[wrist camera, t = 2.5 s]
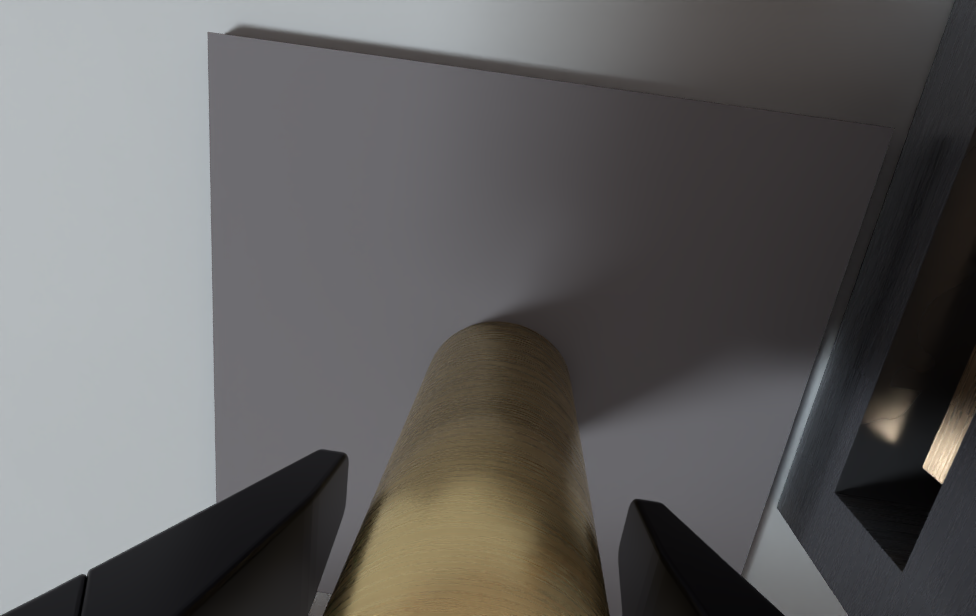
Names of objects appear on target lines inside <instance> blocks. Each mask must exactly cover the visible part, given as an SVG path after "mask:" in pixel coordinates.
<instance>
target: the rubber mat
mask: <svg viewBox="0 0 976 616" xmlns="http://www.w3.org/2000/svg"><path fill="white" fill-rule="evenodd" d="M208 76H209V130H210V183H211V237H212V290H213V344H214V398H215V451H216V503H218V502H220V501H222V500H224V499H225V498H227V497H229V496H231V495H233V494H235V493H237V492H239V491H241V490H243V489H244V488H246V487H248V486H250V485H252V484H254V483H256V482H258V481H260V480H262V479H264V478H265V477H267V476H269V475H271V474H273V473H275V472H277V471H279V470H281V469H283V468H284V467H286V466H288V465H290V464H292V463H294V462H296V461H298V460H300V459H302V458H303V457H305V456H307V455H309V454H311V453H313V452H315V451H317V450H319V449H326V450H332V451H339V452H344V453H346V454H347V456H348V458H349V468H348V483H347V497H346V506H345V511H344V515H343V518H342V521H341V524H340V527H339V530H338V533H337V535H336V538H335V541H334V544H333V547H332V550H331V553H330V555H329V558H328V561H327V564H326V567H325V570H324V573H323V575H322V578H321V581H320V584H319V587H318V590H317V592H324V593H330V594H332V593H333V591H334V589H335V586H336V584H337V582H338V579H339V577H340V574H341V572H342V570H343V567H344V565H345V563H346V560H347V558H348V556H349V553H350V551H351V549H352V546H353V544H354V542H355V539H356V537H357V534H358V532H359V530H360V527H361V525H362V523H363V520H364V518H365V516H366V513H367V511H368V509H369V506H370V504H371V502H372V499H373V497H374V495H375V492H376V490H377V487H378V485H379V483H380V480H381V478H382V476H383V473H384V471H385V469H386V466H387V464H388V462H389V459H390V457H391V455H392V452H393V450H394V447H395V445H396V443H397V440H398V438H399V436H400V433H401V431H402V429H403V426H404V424H405V422H406V419H407V417H408V415H409V412H410V410H411V408H412V405H413V403H414V400H415V398H416V396H417V393H418V391H419V389H420V386H421V384H422V382H423V379H424V377H425V375H426V372H427V370H428V368H429V365H430V363H431V361H432V359H433V357H434V355H435V353H436V352H437V351H438V349H439V348H440V346H441V345H442V344H443V343H444V342H445V341H446V340H447V339H449V338H450V337H451V336H452V335H454V334H455V333H457V332H459V331H460V330H462V329H464V328H467V327H469V326H472V325H475V324H479V323H484V322H495V321H500V322H510V323H514V324H519V325H522V326H525V327H527V328H530V329H532V330H534V331H536V332H537V333H539V334H540V335H542V336H543V337H545V338H546V339H547V340H548V341H549V342H550V343H552V344H553V346H554V347H555V348H556V349H557V350H558V352H559V353H560V355H561V356H562V358H563V359H564V361H565V363H566V366H567V368H568V371H569V374H570V380H571V386H572V392H573V398H574V404H575V410H576V416H577V422H578V428H579V434H580V440H581V446H582V452H583V458H584V464H585V470H586V476H587V482H588V488H589V494H590V500H591V506H592V512H593V518H594V524H595V530H596V536H597V542H598V548H599V554H600V560H601V566H602V572H603V578H604V584H605V590H606V596H607V602H608V608H609V614H610V616H622V605H621V592H620V580H619V567H618V551H619V544H620V540H621V536H622V532H623V528H624V525H625V521H626V517H627V513H628V509H629V506H630V504H631V502H632V501H633V500H634V499H644V500H650V501H657V502H661V503H663V504H664V505H665V506H666V507H667V508H668V509H669V510H671V511H672V512H673V513H674V514H675V515H676V516H677V517H678V518H679V519H680V520H681V521H682V522H684V523H685V524H686V525H687V526H688V527H689V528H690V529H691V530H692V531H693V532H694V533H695V534H697V535H698V536H699V537H700V538H701V539H702V540H703V541H704V542H705V543H706V544H707V545H708V546H710V547H711V548H712V549H713V550H714V551H715V552H716V553H717V554H718V555H719V556H720V557H721V558H723V559H724V560H725V561H726V562H727V563H728V564H729V565H730V566H731V567H732V568H733V569H734V570H736V571H737V572H738V573H739V574H740V575H741V574H742V571H743V568H744V565H745V562H746V560H747V557H748V554H749V551H750V548H751V545H752V542H753V539H754V536H755V533H756V530H757V528H758V525H759V522H760V519H761V516H762V513H763V510H764V507H765V504H766V501H767V498H768V495H769V493H770V490H771V487H772V484H773V481H774V478H775V475H776V472H777V469H778V466H779V463H780V461H781V458H782V455H783V452H784V449H785V446H786V443H787V440H788V437H789V434H790V431H791V429H792V426H793V423H794V420H795V417H796V414H797V411H798V408H799V405H800V402H801V399H802V397H803V394H804V391H805V388H806V385H807V382H808V379H809V376H810V373H811V370H812V367H813V365H814V362H815V359H816V356H817V353H818V350H819V347H820V344H821V341H822V338H823V335H824V332H825V330H826V327H827V324H828V321H829V318H830V315H831V312H832V309H833V306H834V303H835V300H836V298H837V295H838V292H839V289H840V286H841V283H842V280H843V277H844V274H845V271H846V268H847V266H848V263H849V260H850V257H851V254H852V251H853V248H854V245H855V242H856V239H857V236H858V234H859V231H860V228H861V225H862V222H863V219H864V216H865V213H866V210H867V207H868V204H869V202H870V199H871V196H872V193H873V190H874V187H875V184H876V181H877V178H878V175H879V172H880V169H881V167H882V164H883V161H884V158H885V155H886V152H887V149H888V146H889V143H890V140H891V137H892V135H893V132H894V129H895V128H891V127H884V126H877V125H869V124H862V123H855V122H848V121H841V120H834V119H827V118H819V117H812V116H805V115H798V114H791V113H784V112H777V111H769V110H762V109H755V108H748V107H741V106H734V105H726V104H719V103H712V102H705V101H698V100H691V99H684V98H676V97H669V96H662V95H655V94H648V93H641V92H633V91H626V90H619V89H612V88H605V87H598V86H591V85H583V84H576V83H569V82H562V81H555V80H548V79H541V78H533V77H526V76H519V75H512V74H505V73H498V72H490V71H483V70H476V69H469V68H462V67H455V66H448V65H440V64H433V63H426V62H419V61H412V60H405V59H397V58H390V57H383V56H376V55H369V54H362V53H355V52H347V51H340V50H333V49H326V48H319V47H312V46H305V45H297V44H290V43H283V42H276V41H269V40H262V39H254V38H247V37H240V36H233V35H226V34H219V33H212V32H208Z"/></svg>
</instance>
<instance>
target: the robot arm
mask: <svg viewBox="0 0 976 616" xmlns="http://www.w3.org/2000/svg"><path fill="white" fill-rule="evenodd" d="M348 468H349V458H348V456H347V454H346V453H344V452H339V451H332V450H326V449H319V450H317V451H315V452H313V453H311V454H309V455H307V456H305V457H303V458H302V459H300V460H298V461H296V462H294V463H292V464H290V465H288V466H286V467H284V468H283V469H281V470H279V471H277V472H275V473H273V474H271V475H269V476H267V477H265V478H264V479H262V480H260V481H258V482H256V483H254V484H252V485H250V486H248V487H246V488H244V489H243V490H241V491H239V492H237V493H235V494H233V495H231V496H229V497H227V498H225V499H224V500H222V501H220V502H218V503H216V504H214V505H212V506H210V507H208V508H206V509H205V510H203V511H201V512H199V513H197V514H195V515H193V516H191V517H189V518H187V519H186V520H184V521H182V522H180V523H178V524H176V525H174V526H172V527H170V528H168V529H167V530H165V531H163V532H161V533H159V534H157V535H155V536H153V537H151V538H149V539H147V540H146V541H144V542H142V543H140V544H138V545H136V546H134V547H132V548H130V549H128V550H127V551H125V552H123V553H121V554H119V555H117V556H115V557H113V558H111V559H109V560H108V561H106V562H104V563H102V564H100V565H98V566H96V567H94V568H92V569H91V570H89V572H88V574H87V576H86V575H85V574H81V575H79V576H77V577H75V578H73V579H71V580H69V581H67V582H65V583H63V584H61V585H60V586H58V587H56V588H54V589H52V590H50V591H48V592H46V593H44V594H42V595H40V596H38V597H36V598H34V599H32V600H30V601H28V602H26V603H24V604H22V605H20V606H18V607H17V608H15V609H13V610H11V611H9V612H7V613H5V614H3V615H1V616H308V614H309V612H310V609H311V606H312V603H313V601H314V598H315V595H316V592H317V590H318V587H319V584H320V581H321V578H322V575H323V573H324V570H325V567H326V564H327V561H328V558H329V555H330V553H331V550H332V547H333V544H334V541H335V538H336V535H337V533H338V530H339V527H340V524H341V521H342V518H343V515H344V511H345V506H346V497H347V483H348ZM618 567H619V580H620V592H621V605H622V616H784V615H783V614H782V613H781V612H780V611H779V610H778V609H777V608H776V607H775V606H774V605H772V604H771V603H770V602H769V601H768V600H767V599H766V598H765V597H764V596H763V595H762V594H761V593H759V592H758V591H757V590H756V589H755V588H754V587H753V586H752V585H751V584H750V583H749V582H747V581H746V580H745V579H744V578H743V577H742V576H741V575H740V574H739V573H738V572H737V571H736V570H734V569H733V568H732V567H731V566H730V565H729V564H728V563H727V562H726V561H725V560H724V559H723V558H721V557H720V556H719V555H718V554H717V553H716V552H715V551H714V550H713V549H712V548H711V547H710V546H708V545H707V544H706V543H705V542H704V541H703V540H702V539H701V538H700V537H699V536H698V535H697V534H695V533H694V532H693V531H692V530H691V529H690V528H689V527H688V526H687V525H686V524H685V523H684V522H682V521H681V520H680V519H679V518H678V517H677V516H676V515H675V514H674V513H673V512H672V511H671V510H669V509H668V508H667V507H666V506H665V505H664V504H663V503H661V502H657V501H650V500H644V499H634V500H633V501H632V502H631V504H630V506H629V509H628V513H627V517H626V521H625V525H624V528H623V532H622V536H621V540H620V544H619V551H618Z"/></svg>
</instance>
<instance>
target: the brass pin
mask: <svg viewBox="0 0 976 616" xmlns="http://www.w3.org/2000/svg"><path fill="white" fill-rule="evenodd" d="M323 616H610V614H609V608H608V602H607V596H606V590H605V584H604V578H603V572H602V566H601V560H600V554H599V548H598V542H597V536H596V530H595V524H594V518H593V512H592V506H591V500H590V494H589V488H588V482H587V476H586V470H585V464H584V458H583V452H582V446H581V440H580V434H579V428H578V422H577V416H576V410H575V404H574V398H573V392H572V386H571V380H570V374H569V371H568V368H567V366H566V363H565V361H564V359H563V358H562V356H561V355H560V353H559V352H558V350H557V349H556V348H555V347H554V346H553V344H552V343H550V342H549V341H548V340H547V339H546V338H545V337H543V336H542V335H540V334H539V333H537V332H536V331H534V330H532V329H530V328H527V327H525V326H522V325H519V324H514V323H510V322H500V321H495V322H484V323H479V324H475V325H472V326H469V327H467V328H464V329H462V330H460V331H459V332H457V333H455V334H454V335H452V336H451V337H450V338H449V339H447V340H446V341H445V342H444V343H443V344H442V345H441V346H440V348H439V349H438V351H437V352H436V353H435V355H434V357H433V359H432V361H431V363H430V365H429V368H428V370H427V372H426V375H425V377H424V379H423V382H422V384H421V386H420V389H419V391H418V393H417V396H416V398H415V400H414V403H413V405H412V408H411V410H410V412H409V415H408V417H407V419H406V422H405V424H404V426H403V429H402V431H401V433H400V436H399V438H398V440H397V443H396V445H395V447H394V450H393V452H392V455H391V457H390V459H389V462H388V464H387V466H386V469H385V471H384V473H383V476H382V478H381V480H380V483H379V485H378V487H377V490H376V492H375V495H374V497H373V499H372V502H371V504H370V506H369V509H368V511H367V513H366V516H365V518H364V520H363V523H362V525H361V527H360V530H359V532H358V534H357V537H356V539H355V542H354V544H353V546H352V549H351V551H350V553H349V556H348V558H347V560H346V563H345V565H344V567H343V570H342V572H341V574H340V577H339V579H338V582H337V584H336V586H335V589H334V591H333V593H332V596H331V598H330V600H329V603H328V605H327V607H326V610H325V612H324V614H323Z"/></svg>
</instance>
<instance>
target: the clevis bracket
mask: <svg viewBox="0 0 976 616" xmlns="http://www.w3.org/2000/svg"><path fill="white" fill-rule="evenodd" d="M777 509H778V510H779V512H780V513H781V515H782V516H783V518H784V519H785V521H786V522H787V524H788V525H789V527H790V528H791V530H792V531H793V533H794V534H795V536H796V537H797V539H798V540H799V542H800V543H801V545H802V546H803V548H804V549H805V551H806V552H807V554H808V555H809V557H810V558H811V560H812V561H813V563H814V564H815V566H816V567H817V569H818V570H819V572H820V573H821V575H822V576H823V578H824V579H825V581H826V582H827V584H828V585H829V587H830V588H831V590H832V592H833V593H834V595H835V596H836V598H837V599H838V601H839V602H840V604H841V605H842V607H843V608H844V610H845V611H846V613H847V614H848V616H976V0H955V3H954V6H953V8H952V11H951V14H950V17H949V20H948V23H947V25H946V28H945V31H944V34H943V37H942V40H941V43H940V45H939V48H938V51H937V54H936V57H935V60H934V62H933V65H932V68H931V71H930V74H929V77H928V79H927V82H926V85H925V88H924V91H923V94H922V97H921V99H920V102H919V105H918V108H917V111H916V114H915V116H914V119H913V122H912V125H911V128H910V131H909V133H908V136H907V139H906V142H905V145H904V148H903V151H902V153H901V156H900V159H899V162H898V165H897V168H896V170H895V173H894V176H893V179H892V182H891V185H890V187H889V190H888V193H887V196H886V199H885V202H884V205H883V207H882V210H881V213H880V216H879V219H878V222H877V224H876V227H875V230H874V233H873V236H872V239H871V241H870V244H869V247H868V250H867V253H866V256H865V259H864V261H863V264H862V267H861V270H860V273H859V276H858V278H857V281H856V284H855V287H854V290H853V293H852V295H851V298H850V301H849V304H848V307H847V310H846V313H845V315H844V318H843V321H842V324H841V327H840V330H839V332H838V335H837V338H836V341H835V344H834V347H833V349H832V352H831V355H830V358H829V361H828V364H827V367H826V369H825V372H824V375H823V378H822V381H821V384H820V386H819V389H818V392H817V395H816V398H815V401H814V403H813V406H812V409H811V412H810V415H809V418H808V421H807V423H806V426H805V429H804V432H803V435H802V438H801V440H800V443H799V446H798V449H797V452H796V455H795V457H794V460H793V463H792V466H791V469H790V472H789V475H788V477H787V480H786V483H785V486H784V489H783V492H782V494H781V497H780V500H779V503H778V506H777Z"/></svg>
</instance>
